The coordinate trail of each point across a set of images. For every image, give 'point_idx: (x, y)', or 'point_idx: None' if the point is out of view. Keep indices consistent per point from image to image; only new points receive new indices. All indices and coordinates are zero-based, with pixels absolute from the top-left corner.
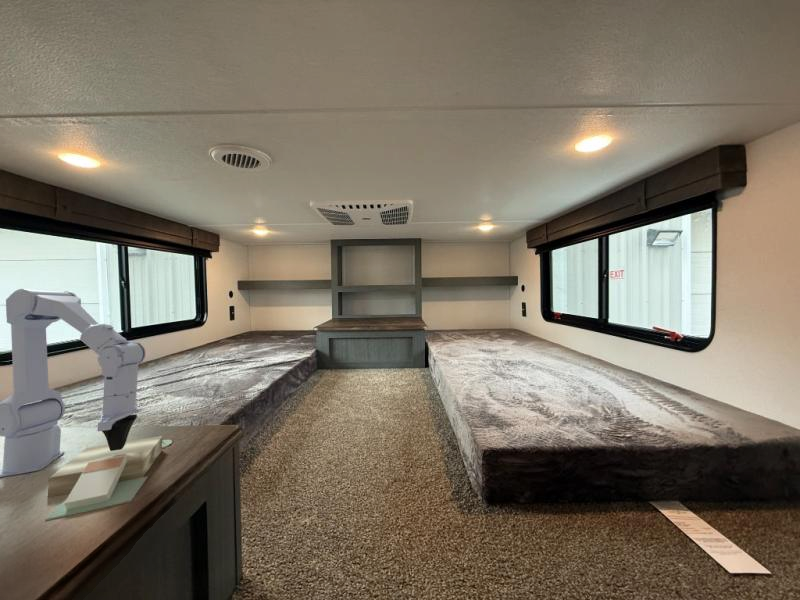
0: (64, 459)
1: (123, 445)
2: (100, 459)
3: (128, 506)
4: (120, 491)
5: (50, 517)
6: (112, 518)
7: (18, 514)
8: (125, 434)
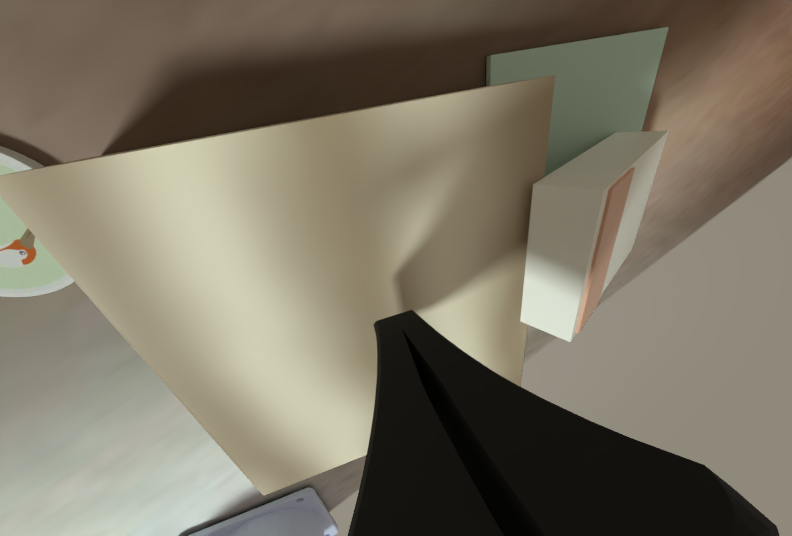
0: (229, 497)
1: (406, 322)
2: (579, 304)
3: (689, 20)
4: (571, 124)
5: None
6: (723, 47)
7: (535, 341)
8: (479, 379)
